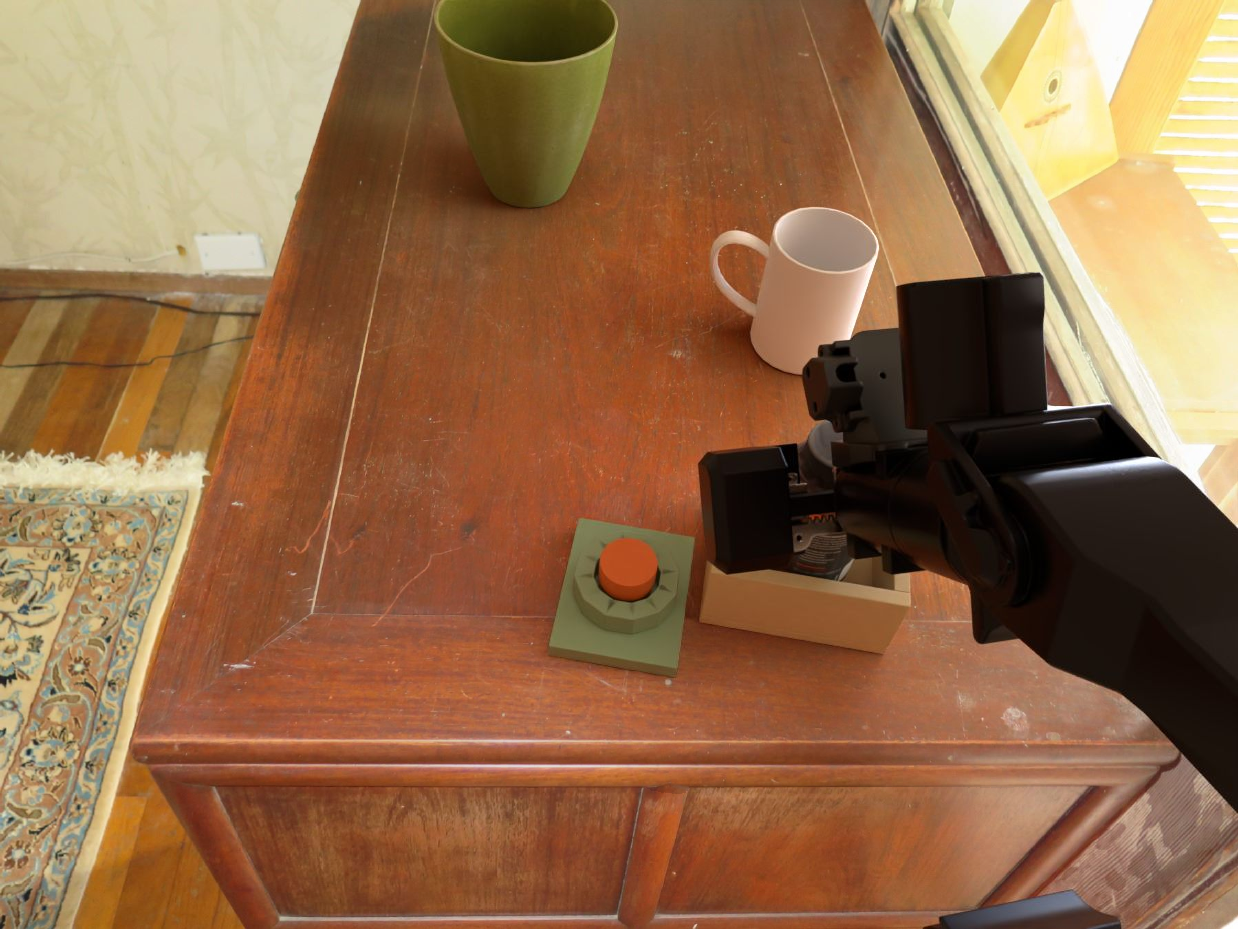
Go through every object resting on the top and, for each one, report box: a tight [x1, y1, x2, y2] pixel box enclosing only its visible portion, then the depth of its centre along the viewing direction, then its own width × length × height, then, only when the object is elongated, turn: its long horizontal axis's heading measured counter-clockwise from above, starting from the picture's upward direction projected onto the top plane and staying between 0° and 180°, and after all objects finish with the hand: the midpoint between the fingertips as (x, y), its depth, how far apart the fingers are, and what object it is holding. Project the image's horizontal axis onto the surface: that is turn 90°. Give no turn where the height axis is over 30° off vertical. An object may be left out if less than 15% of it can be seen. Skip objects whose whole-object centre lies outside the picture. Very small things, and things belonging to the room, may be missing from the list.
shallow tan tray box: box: [698, 556, 912, 655], centre depth 64 cm, size 10×12×6 cm
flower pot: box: [433, 0, 619, 209], centre depth 86 cm, size 15×15×16 cm
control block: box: [547, 517, 696, 678], centre depth 63 cm, size 10×8×3 cm
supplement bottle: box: [769, 420, 854, 582], centre depth 60 cm, size 6×6×11 cm
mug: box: [709, 206, 880, 376], centre depth 77 cm, size 12×8×10 cm, turn 82°
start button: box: [598, 538, 658, 601], centre depth 62 cm, size 4×4×2 cm
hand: (818, 479), depth 60 cm, fingers closed on supplement bottle, 6 cm apart
